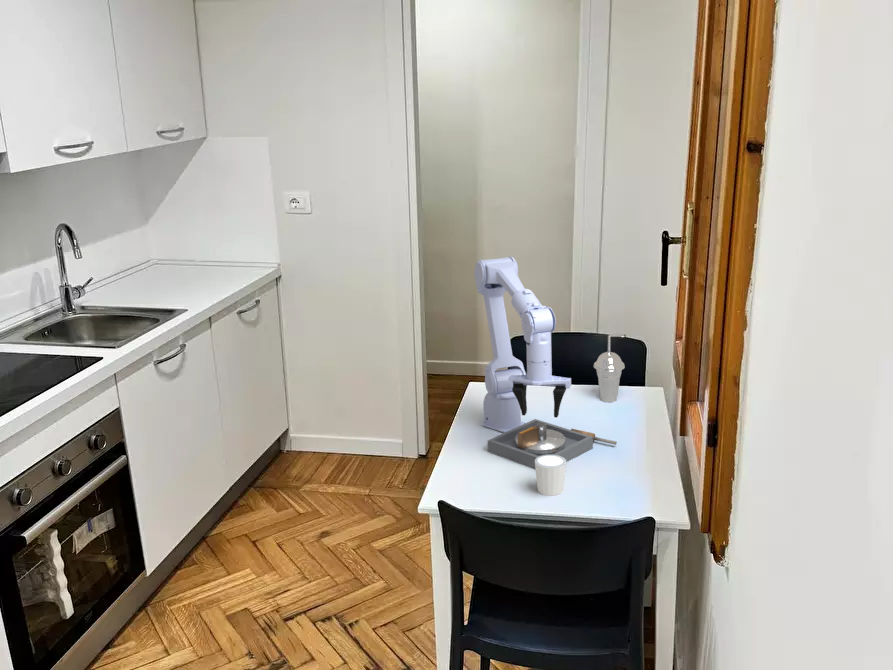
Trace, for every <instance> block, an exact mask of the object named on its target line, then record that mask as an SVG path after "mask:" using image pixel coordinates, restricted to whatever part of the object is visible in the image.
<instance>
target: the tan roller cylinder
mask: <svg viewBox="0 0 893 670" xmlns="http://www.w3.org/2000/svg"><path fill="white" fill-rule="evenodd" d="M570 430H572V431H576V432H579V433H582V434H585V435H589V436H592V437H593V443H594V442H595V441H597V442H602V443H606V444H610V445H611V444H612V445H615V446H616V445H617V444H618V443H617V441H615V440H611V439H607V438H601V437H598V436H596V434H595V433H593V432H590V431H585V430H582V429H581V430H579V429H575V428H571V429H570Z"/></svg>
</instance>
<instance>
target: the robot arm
mask: <svg viewBox="0 0 893 670" xmlns="http://www.w3.org/2000/svg"><path fill="white" fill-rule="evenodd" d="M474 279H475V287H476V290H477V293H478V294H481V295H483V300H484V306H485V312H486V317H487V324H488V325H487V326H488V331H489V336H490V344H491V349H492V350H491V351H492V355H493V358H492V359H491V360H490V361H489V363H488V364H487V365H486V366H485V367H484V384H485V389H486V391H487V393H485V395H484V399H483V404H482V406H483V422H482V423H481V425H482V426H483V427H486V428H489V429H492V430H495V431H498V432H501V433H502V434H503V433H505V432H507V431H509V430H512V429H514V428H516V427H518V426H521V425H523V424H525V423H526V422H524V421H522V420H521V419H522V416H526V415H527V411H528V408H527V387H528V386H531V387H532V386H534V387H535V386H536V387H538V386H539V387H553V388H554V389H553V391H552V395H553V417H554V418H558V417H559V415H560V414H559V413H560V407H561V403H562V400H563V398H564V395H565V393H566V391H567V389H570V388H571V387H572V378H571V377H564V376H556V375H552V374H553V373H552V372H553V368H552V367H553V366H552V361H553V360H552V358H553V357H552V333H553V332H554V331H555V329H556V325H557V322H556V321H557V319H556V315H555V313H554V311H553V309H552V307H550V306H546V305H543V304H542V303H541V302H540V300H539V299H538V297H537V296H536V294H534V292H533V291H532V290H531V289H529V288H525V287H524V285H523V283H522V281H521V279H520V277H519V265H518V263H517V260H516V259H515V258H514V257H513V256H510V255H509V256H507V257H499V258H489V259H478V260H477V262H476V263H475V267H474ZM506 292H507V293H508V294H509V296H510V297H511V302H510V303H511V306H512V307H513V308H514V310H515V312H516V313H517V315H518V316H519V317H520V319H521V321H520V322H521V327H522V332H523V339H524V341H525V342H526V370H525V367H524V366H525V365H524V363H523V362H522V360H520V359H518V358H516V357H515V356H514V355H513V350H512V344H511V338H510V336H511V335H510V331H509V325H508V319H507V311H506V307H505V301H504V300H505V299H504V294H505V293H506ZM504 368H507V369H504ZM498 369H499V370H498ZM500 369H501V370H500Z"/></svg>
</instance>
